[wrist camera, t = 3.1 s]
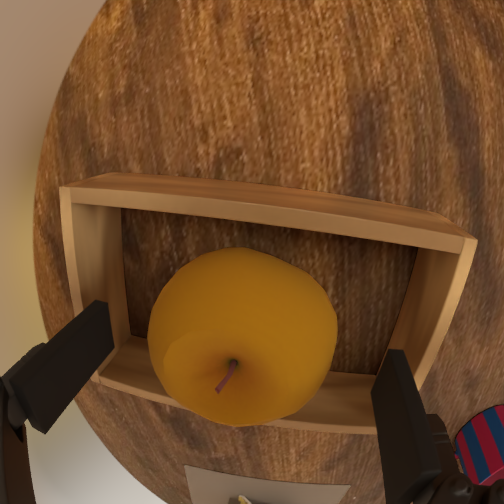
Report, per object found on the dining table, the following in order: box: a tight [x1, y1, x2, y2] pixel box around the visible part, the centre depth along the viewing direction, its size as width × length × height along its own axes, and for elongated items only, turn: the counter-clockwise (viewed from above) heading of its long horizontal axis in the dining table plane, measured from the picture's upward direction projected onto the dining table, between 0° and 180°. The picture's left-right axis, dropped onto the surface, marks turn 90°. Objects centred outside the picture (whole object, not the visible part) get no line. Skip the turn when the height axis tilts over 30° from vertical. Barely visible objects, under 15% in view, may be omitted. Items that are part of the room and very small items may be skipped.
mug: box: [454, 405, 504, 486], centre depth 18 cm, size 7×10×7 cm
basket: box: [59, 172, 478, 434], centre depth 17 cm, size 13×20×5 cm, turn 85°
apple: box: [147, 247, 338, 427], centre depth 15 cm, size 9×8×9 cm
